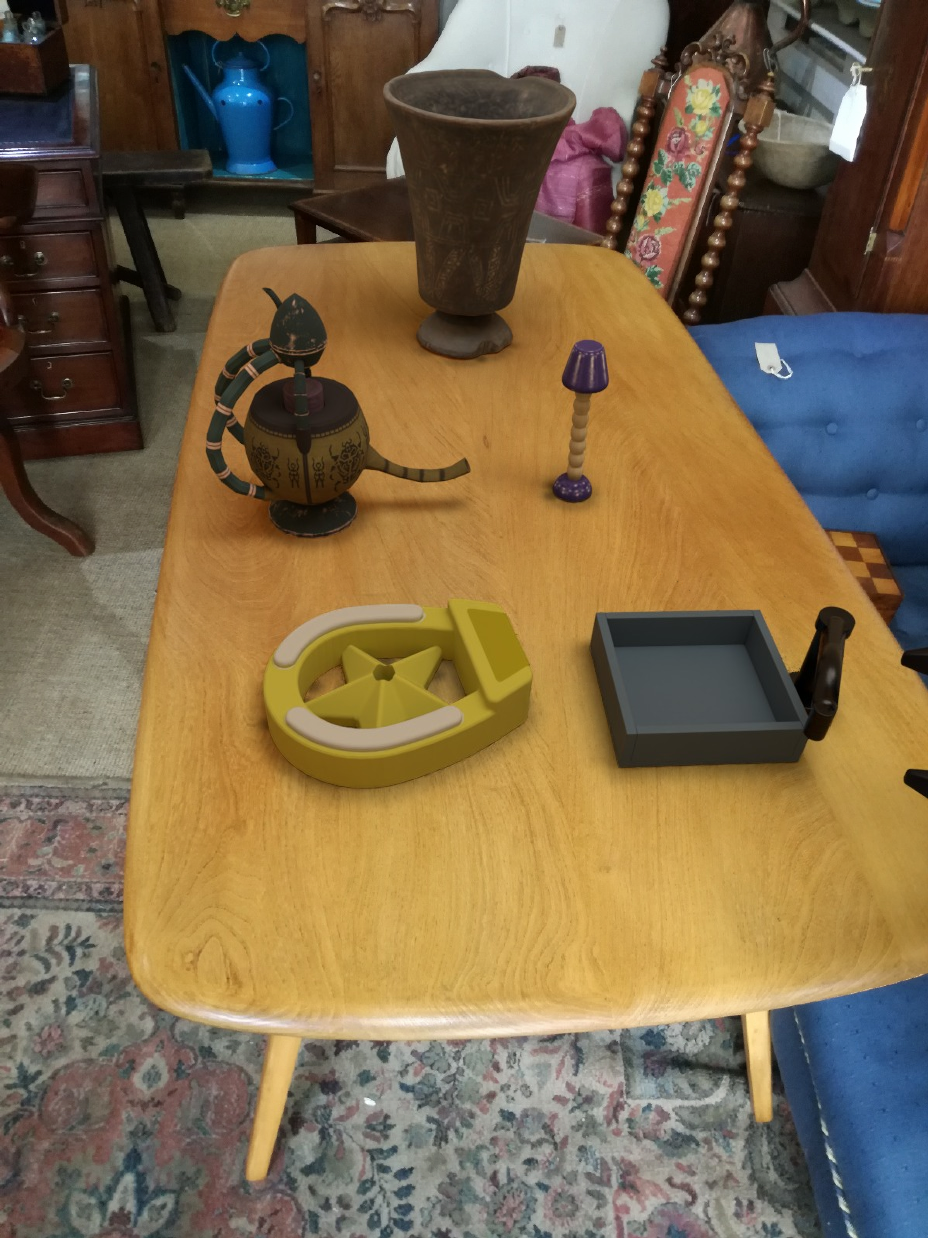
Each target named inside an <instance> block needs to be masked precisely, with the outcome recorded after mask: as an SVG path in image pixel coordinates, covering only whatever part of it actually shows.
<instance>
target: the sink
mask: <svg viewBox="0 0 928 1238" xmlns="http://www.w3.org/2000/svg"><path fill="white" fill-rule="evenodd" d="M773 637H774V636H773V635H772V632H771V631H770V629H769V627H768V624H767V622H766V620H765V617H764V615H763V613H762V611H761V609H718V610H717V609H716V610H715V609H713V610H712V609H711V610H710V609H709V610H658V611H657V610H655V611H604V612H603V611H602V612H600V611H599V612H598V611H597V612H595V615H594V620H593V626H592V632H591V638H590V643H589V649H590V653H591V657H592V661H593V665H594V670H595V674H596V678H597V682H598V686H599V691H600V695H601V698H602V702H603V708H604V712H605V715H606V719H607V723H608V728H609V732H610V736H611V740H612V744H613V748H614V752H615V757H616V761H617V766H618V768H644V767H645V768H647V767H676V766H701V765H703V766H706V765H707V766H708V765H710V766H711V765H737V764H738V765H740V764H741V765H742V764H743V765H744V764H771V763H798V762H799V761H800V759H801V757H802V755H803V752H804V750H805V748H806V746H807V744H808V742H809V740H810V739H808V738H807V737H806V736H805V735H804V733H803V728H804V725H805V723H806V721H807V719H808V715H807V713H806V711H805V709H804V706H803V704H802V702H801V700H800V697H799V695H798V693H797V691H796V689H795V686H794V684H793V682H792V680H791V677H790V675H789V673H790V672H789V671H788V669H787V667H786V664H785V662H784V660H783V658H782V657H783V656H781V653H780V651H779V648H778V646H777V644H776V642H775V640H774V638H773Z"/></svg>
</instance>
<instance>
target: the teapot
mask: <svg viewBox="0 0 928 1238" xmlns="http://www.w3.org/2000/svg"><path fill="white" fill-rule="evenodd" d="M261 289H262V290H263V292H264V293H265V294H267V296H268V297H269V298H270V299H271V300H272V302H273V304H274V306H275V307H276V311H275V313H274V316H273V319H272V321H271V325H270V331H269V337H265V338H261V339H256V340H255V341H253V342H251V343H248V344H246V345H245V346H243V347H242V348H240V350H238V351H237V352H236V353H235V354H233V355H232V356H230V358H229V359H228V360H227V361H226V363H225V364H224V366H223V367H222V369H221V371H220V373H219V374H218V377H217V380H216V383H215V385H214V397H213V398H214V403H215V410H214V412H213V414H212V416H211V420H210V422H209V425H208V429H207V432H206V440H205V454H206V457H207V460H208V463H209V466H210V468H211V469H212V471H213V472H214V474H215V475H216V476H217V478H218V479H219V481H220V482H221V483H222V484H224V485H225V487H227V488H228V489H230V490H231V491H232V492H234V493H235V494H238V495H241V496H245V497H249V498H252V499H256V500H260V501H263V503H265V502H270V503H269V505H268V509H267V512H268V517H269V521H270V523H271V524H272V525H273V526H274V528H275V529H276V530H278V531H280V532H281V533H283V534H284V535H287V536H290V537H295V538H298V539H309V540H313V539H321V538H328V537H331V536H335V535H337V534H340V533H342V532H343V531H345V530H346V529H347V528H349V527H351V525H352V524H353V523H354V521H355V520H356V519H357V515H358V511H359V506H358V503H357V500H356V498H355V497H354V495H353V494H352V493H351V492H350V491H348V490H350V489H351V488H352V487H353V485H354V484H355V483H356V482H357V481H358V479H359V478H360V476H361V475H362V473H363V471H364V470H365V471H366V470H367V471H377V472H381V473H383V474H387V475H390V476H393V477H395V478H398V479H403V480H406V481H407V480H408V481H413V482H416V483H419V484H420V483H421V484H422V483H423V484H424V483H426V484H427V483H441V482H447V481H451V480H456V479H457V478H460V477H463V476H465V475H467V474H470V473H471V472H472V470H471V465H470V463H469V461H468V459H467V458H466V457H463V458H461V459H460V460H458V461H457V462H455V463H454V464H452V465H449V466H446V467H443V468H416V467H415V468H414V467H413V468H412V467H407V466H404V465H400V464H398V463H395V462H393V461H391V460H390V459H387V458H386V457H384V456H383V455H381V453H380V452H378V451H377V450H376V449H375V448H374V447H373V446H372V445H371V444H370V442H371V437H370V428H369V427H370V426H369V425H368V422H367V420H366V417H365V414H364V411H363V408H362V407H361V405H360V403H359V401H358V398H357V397H356V395H355V393H354V392H353V390H351V389H350V388H349V387H348V386H347V385H346V384H344V383H342V382H340V381H338V380H335V379H334V378H333V379H332V378H328V377H324V376H316V375H315V376H313V373H312V369H311V368H312V367H315V366H316V365H317V364H318V363H320V360H321V358H322V356H323V354H324V351H325V350H326V348H327V346H328V332H327V330H326V327H325V324H324V321H323V319H322V318H321V317H320V314H319V312H318V311H317V310H316V308H315V307H314V306H313V305H312V304H311V303H310V302H309V301H308V299H306V298H305V297H302V296H301V295H299V294H298V293H296V292H293V293H291V295H289V296H288V297H287V298H285V299H284V300H283V301H282V300H281V299H280V298H279V296H278V295H277V294H276V292H275V291H274V290H273V289H272V288H270V287H262V288H261ZM278 364H279V365H284V366H285V367H288V368H291V369H294V373H293V376H287V377H284V378H280V379H277V380H273V381H271V382H269V383H267V384H265V385H263V386H262V387H261V388H259V389H258V390H257V391H256V392H255V393H254V395H253V397H252V400H251V402H250V405H249V408H248V410H247V414H246V416H245V421H244V425H242V424H241V423H240V422H239V419H237V417H236V415H235V413H234V412H233V411H234V408H235V406H236V404H237V402H238V401H239V399H240V398H241V396H242V395H243V394H244V393H245V392H246V390H247V389H248V388H249V386H250V385H252V383H253V382H254V381H255V380H256V379H258V378H259V377H260V376H261V375H262V374H263V373H264V372H266V371H268V370H270V369H271V368H273V367H275V366H276V365H278ZM243 367H244V368H243ZM225 429H226V430H227V432H229V434H231V435H232V436H233V438H234V439H235V440H236V441H237V442H238V443H239V444H240V445H242V446H244V449H245V451H244V452H245V455H246V458H247V462H248V464H249V467H250V470H251V471H252V472H253V474H254V475H255V476H256V477H257V478H258V479H259V481H260V482H261V483H262V484H263V485H259V484H255V483H253V482H249V481H246V480H242V479H240V478H239V477H238V476H237V475H235V474H234V473H233V471H232V470H231V469H230V467H229V466H228V464H227V462H226V461H225V457H224V454H223V452H222V445H223V435H224V432H225Z"/></svg>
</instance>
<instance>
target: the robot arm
mask: <svg viewBox="0 0 928 1238" xmlns="http://www.w3.org/2000/svg"><path fill="white" fill-rule="evenodd" d="M900 665H901V666H902V667H905V668H906V669H909V670H912V671H915V672H916V673H919V674H922V675H925V676H928V646H926V647H919V648H913V649H907V650H905V651H904V652H903V653H902V655H901V658H900ZM903 783H904V784H905V786H907V787H908V788H910V789H912V790H914V791H915V792H916V793H918V794H919V795H921V796H923V798H925V799H927V800H928V769H921V768H908V769H907V770H906V771H905V773H904V775H903Z"/></svg>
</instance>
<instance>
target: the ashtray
mask: <svg viewBox="0 0 928 1238" xmlns="http://www.w3.org/2000/svg"><path fill="white" fill-rule="evenodd" d="M393 658H394V659H395V658H396V659H397V658H398V659H399V658H401V659H399V660H397V661H395V662H392V663H390V664H388V665H387V664H385V663H383V662H382V661H379V659H393ZM443 660H445V661H446V660H447V661H451V662H452V663H453V665H454V667H455V671H456V673H457V675H458V678H459V681H460V683H461V685H462V689H463V690H464V693H465V695H466V696H464V697H462V698H460V699H458V700H457V701H455V702H451V703H448V702H447V701H445V700H444V699H442V698H440V697H438V696H437V695H435V694H434V693H432V692H430V691H429V690H428V688H429V686H430V684H431V682H432V680H433V679H434V677H435V675H436V673H437V671H438V669H439V667H440V666H441V663H442V662H443ZM529 661H530V660H529V659H528V657H527V655H526V653H525V650H524V649H523V647H522V644H521V641H520V639H519V638H518V636H517V634H516V632H515V629H514V627H513V625H512V623H511V620H510V619H509V616H508V615H507V613H506V612H505V611H504V609H503V608H502V607H501V606H500V605H499V604H497V603H495V602H487V601H482V600H481V601H480V600H473V599H465V598H458V597H452V598H450V599H449V600H448V601H447V607H442V606H426V605H425V606H423V605H418V604H416V603H384V604H380V603H379V604H367V605H355V606H354V605H353V606H347V607H343V608H342V607H341V608H338V609H334V610H330V611H327V612H324V613H322V614H319V615H317V616H315V617H312V618H311V619H309V620H307V621H305V622H303V623H302V624H301V625H299V626H298V627H296V628H295V629H293V631H292V632H290V633H289V634H288V635H287V636H286V637H285V638H284V639H283V640H282V641H281V642H280V644H279V645H277V647H276V648H275V649H274V651H273V652H272V654H271V656H270V658H269V660H268V662H267V663H266V667H265V670H264V672H263V673H264V674H263V680H262V693H263V701H264V707H265V715H266V719H267V726H268V729H269V730H268V731H269V734H270V736H271V739H272V741H273V743H274V745H275V746H276V749H277V750H278V751H279V753H280V754H281V755H282V756H283V757H284V758H285V759H286V761H287V762H289V764H291V765H292V766H293V767H295V768H296V769H297V770H298V771H301V772H302V773H304V774H305V775H307V776H309V777H311V778H314V779H315V780H318V781H320V782H323V783H327V784H330V785H334V786H338V787H346V788H353V789H375V788H384V787H390V786H394V785H395V786H396V785H398V784H401V783H405V782H408V781H412V780H414V779H417V778H420V777H423V776H426V775H429V774H431V773H435V772H437V771H440V770H442V769H444V768H447V767H449V766H451V765H453V764H456V763H458V762H460V761H462V760H465V759H467V758H468V757H469V758H470V757H471V756H473V755H475V754H476V753H479V752H480V751H482V750H485V748H488V747H489V746H491V745H492V744H493V743H495V742H497V741H498V740H500V739H502V738H503V737H505V736H506V735H507V734H509V733H510V732H512V731H514V730H515V729H516V728H518V727H519V726H520V725H522V724H524V723H525V722H526V721H527V719H528V715H529V707H530V700H531V693H532V686H533V677H534V673H533V670H532V668H531V667H530V666H531V663H530V662H529ZM338 666H341V668H342V672H343V675H344V679H345V682H346V683H345V684H344V685H341V686H339V687H337V688H335V689H332V690H330V691H328V692H326V693H324V694H322V695H319V696H317V697H315V698H313V699H311V700H308V701H306V702H304V699H305V697H306V694H307V692H308V691H309V689H310V688H311V686H312V685H313V684H314V683H315V682H316V681H317V680H318V679H319V678H320V677H321V676H322V675H324V674H325V673H326V672H329V671H330V670H332V669H333V668H336V667H338Z"/></svg>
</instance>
